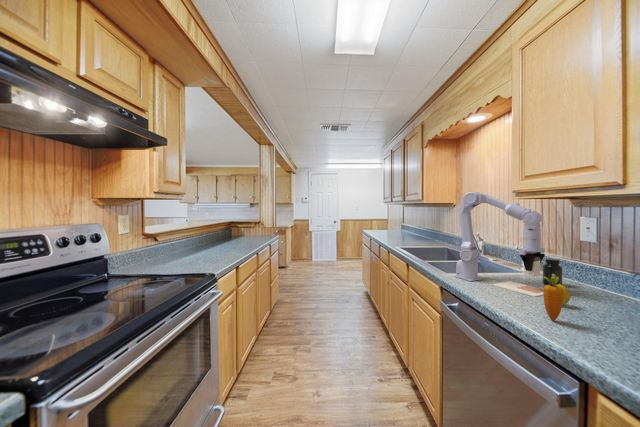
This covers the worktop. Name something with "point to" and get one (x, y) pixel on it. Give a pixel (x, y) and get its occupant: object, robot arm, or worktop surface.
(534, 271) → the grey rectangular block
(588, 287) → the worktop surface
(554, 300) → the carrot
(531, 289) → the paper sheet
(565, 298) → the lemon
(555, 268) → the supplement bottle
